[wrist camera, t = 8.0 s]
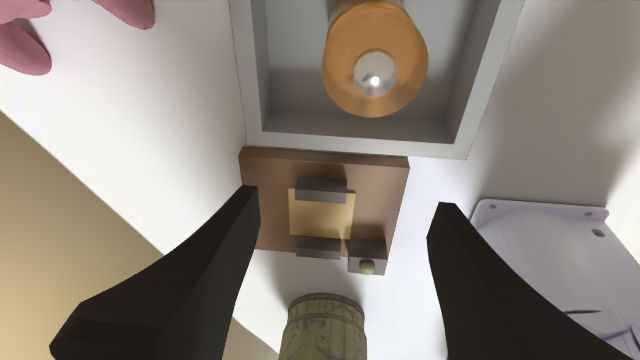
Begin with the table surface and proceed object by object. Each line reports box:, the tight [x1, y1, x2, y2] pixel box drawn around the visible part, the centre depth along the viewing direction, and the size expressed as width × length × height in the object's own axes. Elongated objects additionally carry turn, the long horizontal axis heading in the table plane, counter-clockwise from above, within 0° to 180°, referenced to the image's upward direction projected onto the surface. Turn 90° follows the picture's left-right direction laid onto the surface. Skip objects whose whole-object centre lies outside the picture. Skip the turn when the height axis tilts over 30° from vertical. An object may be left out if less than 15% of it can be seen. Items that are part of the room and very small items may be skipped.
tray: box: [229, 0, 525, 160], centre depth 17 cm, size 13×13×4 cm
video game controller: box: [0, 0, 155, 76], centre depth 17 cm, size 10×5×7 cm, turn 110°
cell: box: [321, 0, 429, 118], centre depth 15 cm, size 4×4×8 cm
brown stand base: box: [238, 147, 410, 275], centre depth 26 cm, size 12×10×4 cm
